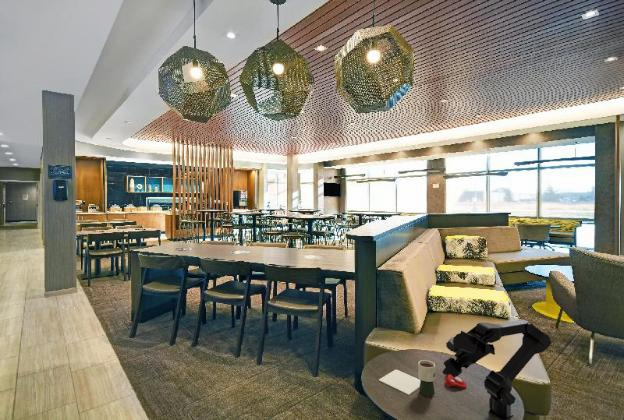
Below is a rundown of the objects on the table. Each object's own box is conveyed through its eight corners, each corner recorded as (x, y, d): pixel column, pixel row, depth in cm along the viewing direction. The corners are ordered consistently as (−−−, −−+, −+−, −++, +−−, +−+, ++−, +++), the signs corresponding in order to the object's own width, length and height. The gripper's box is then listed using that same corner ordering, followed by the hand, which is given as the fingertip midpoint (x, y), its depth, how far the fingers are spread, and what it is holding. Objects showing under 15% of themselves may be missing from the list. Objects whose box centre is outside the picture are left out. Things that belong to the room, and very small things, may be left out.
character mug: (438, 401, 135) (437, 370, 135) (420, 400, 137) (420, 369, 136) (433, 387, 146) (432, 358, 146) (416, 385, 147) (416, 357, 147)
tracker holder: (471, 383, 147) (458, 385, 141) (468, 392, 147) (455, 394, 142) (449, 366, 157) (436, 367, 152) (446, 374, 157) (433, 375, 152)
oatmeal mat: (425, 383, 149) (425, 382, 149) (408, 395, 140) (408, 394, 140) (395, 370, 161) (395, 369, 161) (378, 380, 152) (378, 379, 152)
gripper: (469, 327, 136) (444, 345, 145) (448, 340, 124) (422, 359, 133) (489, 352, 131) (462, 369, 139) (469, 368, 118) (440, 386, 127)
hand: (446, 370), depth 134 cm, fingers open, 6 cm apart
